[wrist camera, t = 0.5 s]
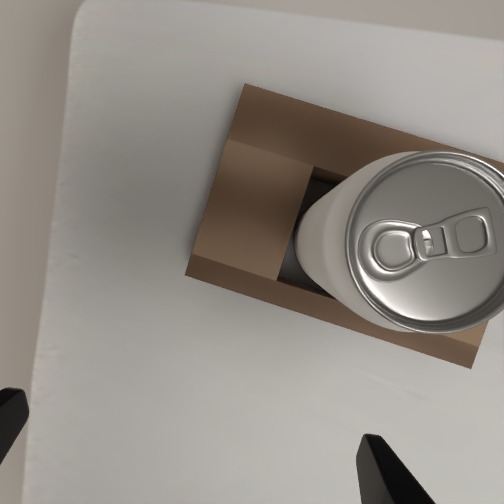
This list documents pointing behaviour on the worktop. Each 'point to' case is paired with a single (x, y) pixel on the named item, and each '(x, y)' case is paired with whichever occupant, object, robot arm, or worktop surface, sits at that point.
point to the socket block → (297, 208)
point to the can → (411, 241)
